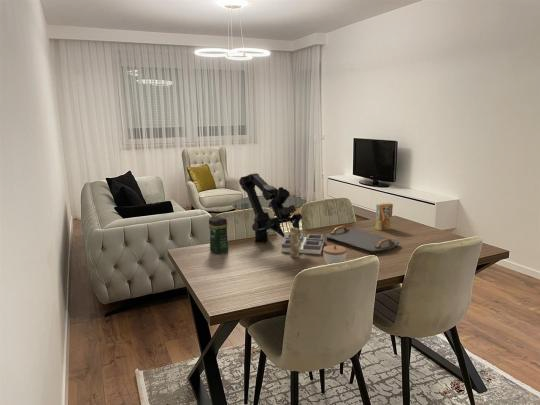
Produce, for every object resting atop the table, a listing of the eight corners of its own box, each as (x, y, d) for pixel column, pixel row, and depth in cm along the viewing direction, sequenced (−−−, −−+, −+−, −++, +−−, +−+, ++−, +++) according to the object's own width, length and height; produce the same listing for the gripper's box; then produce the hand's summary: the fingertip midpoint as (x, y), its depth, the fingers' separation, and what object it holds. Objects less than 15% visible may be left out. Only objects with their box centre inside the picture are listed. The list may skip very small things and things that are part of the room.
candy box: (387, 227, 253) (388, 202, 249) (391, 228, 249) (393, 203, 246) (375, 228, 250) (376, 203, 246) (379, 230, 246) (380, 205, 243)
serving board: (320, 239, 233) (320, 228, 231) (348, 231, 246) (348, 221, 245) (376, 257, 203) (376, 245, 201) (404, 247, 216) (405, 236, 215)
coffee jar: (231, 252, 212) (229, 217, 208) (217, 256, 207) (216, 220, 203) (220, 248, 220) (219, 213, 216) (207, 251, 215) (206, 216, 211)
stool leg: (289, 257, 204) (289, 229, 201) (291, 254, 208) (291, 227, 205) (298, 257, 203) (298, 230, 200) (299, 255, 207) (299, 228, 204)
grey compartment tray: (281, 251, 212) (281, 244, 211) (287, 239, 231) (287, 232, 230) (320, 253, 208) (320, 246, 207) (323, 241, 227) (324, 234, 226)
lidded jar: (318, 265, 193) (318, 245, 191) (331, 258, 201) (331, 240, 199) (337, 270, 186) (338, 250, 184) (350, 264, 194) (351, 245, 192)
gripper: (269, 202, 201) (282, 229, 194) (300, 197, 211) (313, 223, 204) (261, 215, 209) (273, 241, 202) (291, 210, 219) (304, 235, 212)
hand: (291, 235), depth 205 cm, fingers open, 9 cm apart
